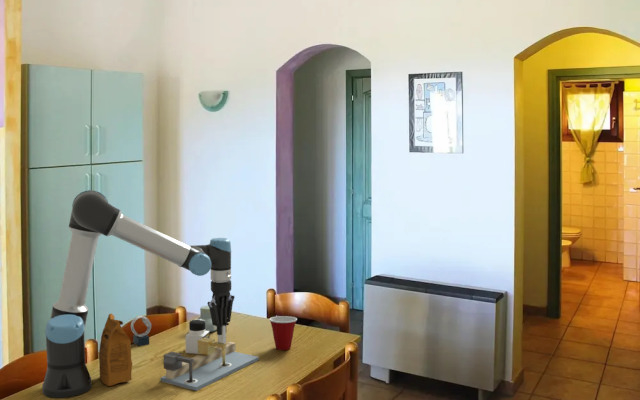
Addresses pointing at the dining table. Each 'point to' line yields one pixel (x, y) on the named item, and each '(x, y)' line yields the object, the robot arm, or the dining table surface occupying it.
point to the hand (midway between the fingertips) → (221, 342)
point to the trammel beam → (191, 361)
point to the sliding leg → (210, 347)
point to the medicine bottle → (195, 335)
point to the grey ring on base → (142, 338)
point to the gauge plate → (212, 371)
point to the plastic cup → (283, 331)
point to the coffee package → (115, 353)
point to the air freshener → (207, 319)
